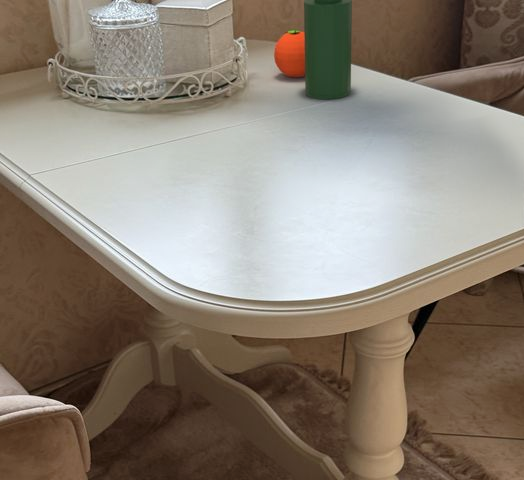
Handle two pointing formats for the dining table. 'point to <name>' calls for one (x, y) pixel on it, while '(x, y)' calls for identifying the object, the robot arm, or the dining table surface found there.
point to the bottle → (327, 48)
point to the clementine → (291, 53)
